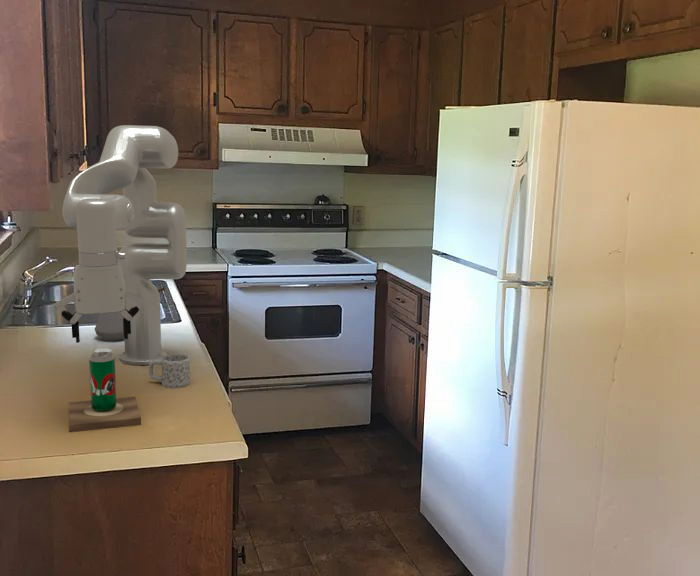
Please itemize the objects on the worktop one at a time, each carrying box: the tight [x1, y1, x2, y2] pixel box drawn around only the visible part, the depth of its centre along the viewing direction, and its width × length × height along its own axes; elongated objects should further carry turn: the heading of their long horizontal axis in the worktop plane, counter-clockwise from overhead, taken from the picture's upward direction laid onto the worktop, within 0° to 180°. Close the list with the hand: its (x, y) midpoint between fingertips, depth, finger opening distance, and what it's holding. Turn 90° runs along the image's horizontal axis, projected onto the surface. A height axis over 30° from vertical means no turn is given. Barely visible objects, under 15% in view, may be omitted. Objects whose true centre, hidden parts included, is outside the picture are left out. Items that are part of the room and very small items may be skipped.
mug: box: [148, 353, 191, 389], centre depth 181 cm, size 10×7×7 cm
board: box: [68, 396, 142, 433], centre depth 158 cm, size 14×14×2 cm
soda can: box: [88, 352, 117, 412], centre depth 157 cm, size 5×5×12 cm
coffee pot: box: [94, 287, 168, 342], centre depth 222 cm, size 21×12×15 cm, turn 107°
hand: (102, 339), depth 156 cm, fingers open, 9 cm apart
